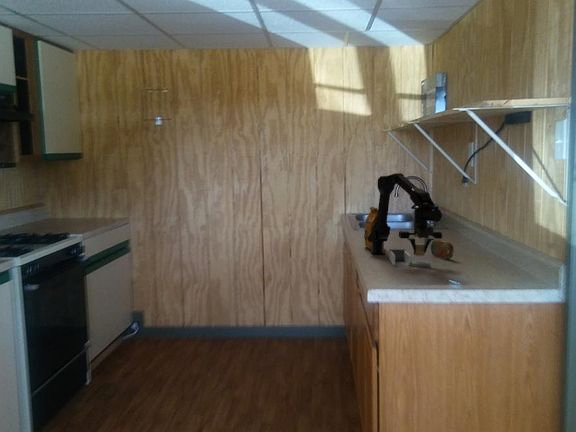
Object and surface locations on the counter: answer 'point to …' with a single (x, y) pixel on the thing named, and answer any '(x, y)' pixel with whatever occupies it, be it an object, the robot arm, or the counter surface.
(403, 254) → the grey open rectangular frame
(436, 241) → the tin
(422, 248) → the block
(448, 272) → the counter surface
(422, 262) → the tile
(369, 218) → the coffee package
